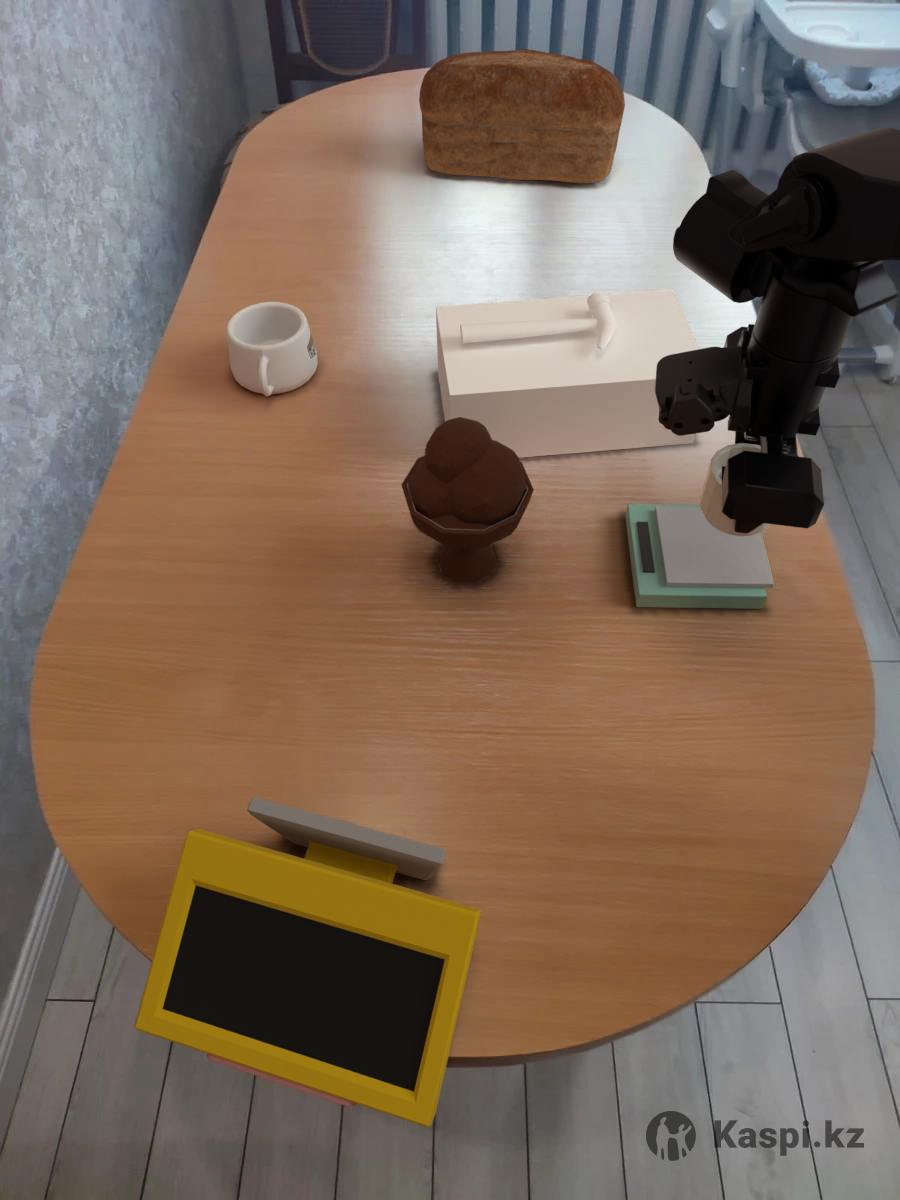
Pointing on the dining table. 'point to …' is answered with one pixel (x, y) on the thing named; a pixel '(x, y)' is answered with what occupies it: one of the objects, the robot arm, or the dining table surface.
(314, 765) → the dining table surface
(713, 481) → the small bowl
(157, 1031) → the yellow framed monitor
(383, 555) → the dining table surface
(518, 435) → the hammer topped box
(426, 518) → the ice cream bowl
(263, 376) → the mug
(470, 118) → the bread
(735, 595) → the kitchen scale
